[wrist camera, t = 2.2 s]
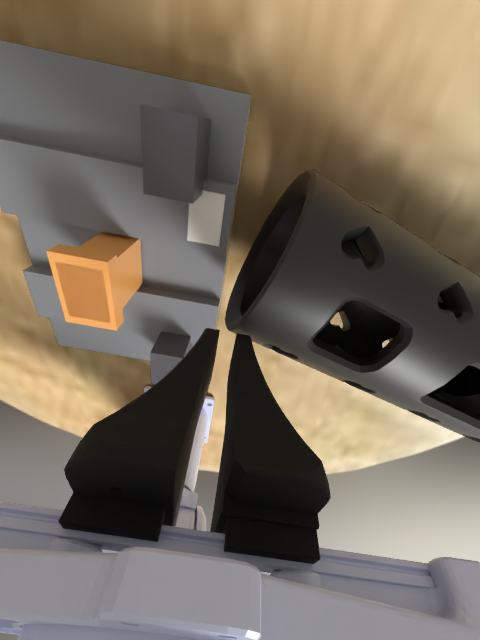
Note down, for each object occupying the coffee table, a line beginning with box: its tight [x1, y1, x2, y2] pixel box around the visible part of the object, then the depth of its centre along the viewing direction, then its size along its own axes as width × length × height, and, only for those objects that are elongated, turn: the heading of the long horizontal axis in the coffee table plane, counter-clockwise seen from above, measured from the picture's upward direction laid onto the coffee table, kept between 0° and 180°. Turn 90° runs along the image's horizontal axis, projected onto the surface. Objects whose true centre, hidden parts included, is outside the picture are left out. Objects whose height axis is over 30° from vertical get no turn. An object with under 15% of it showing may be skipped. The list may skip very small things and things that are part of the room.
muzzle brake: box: [225, 169, 480, 443], centre depth 17 cm, size 10×28×10 cm, turn 63°
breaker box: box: [0, 40, 252, 384], centre depth 18 cm, size 20×14×6 cm
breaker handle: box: [46, 232, 143, 331], centre depth 16 cm, size 4×3×5 cm
